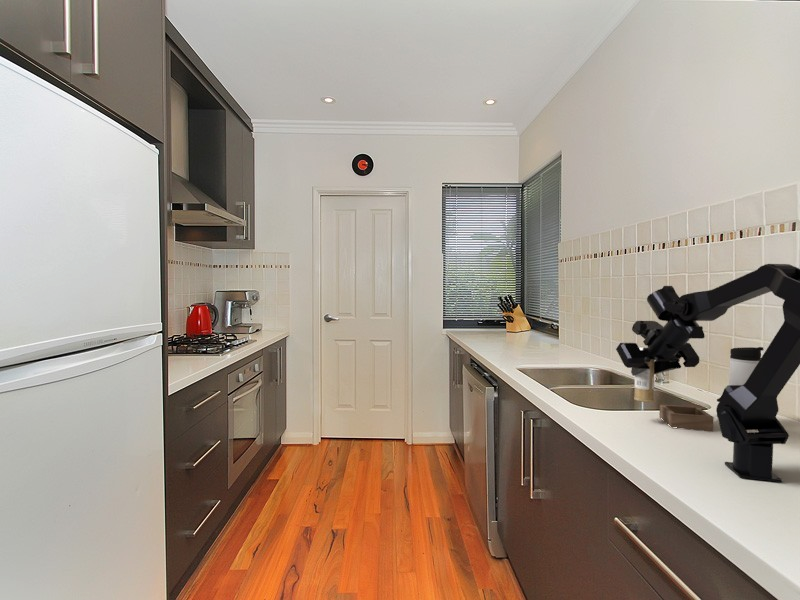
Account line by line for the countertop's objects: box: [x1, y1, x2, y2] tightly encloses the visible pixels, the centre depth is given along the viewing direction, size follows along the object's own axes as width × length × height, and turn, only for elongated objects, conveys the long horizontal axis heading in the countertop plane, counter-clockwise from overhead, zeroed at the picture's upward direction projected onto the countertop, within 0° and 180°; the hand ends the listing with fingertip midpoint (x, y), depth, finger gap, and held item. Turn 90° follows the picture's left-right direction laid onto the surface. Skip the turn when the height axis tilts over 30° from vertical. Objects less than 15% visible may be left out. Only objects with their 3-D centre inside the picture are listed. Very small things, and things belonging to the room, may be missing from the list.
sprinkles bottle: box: [633, 347, 655, 404], centre depth 110 cm, size 5×5×13 cm
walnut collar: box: [659, 404, 714, 432], centre depth 110 cm, size 9×9×4 cm
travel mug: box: [728, 346, 764, 385], centre depth 111 cm, size 6×7×20 cm
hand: (640, 374), depth 112 cm, fingers closed on sprinkles bottle, 4 cm apart
